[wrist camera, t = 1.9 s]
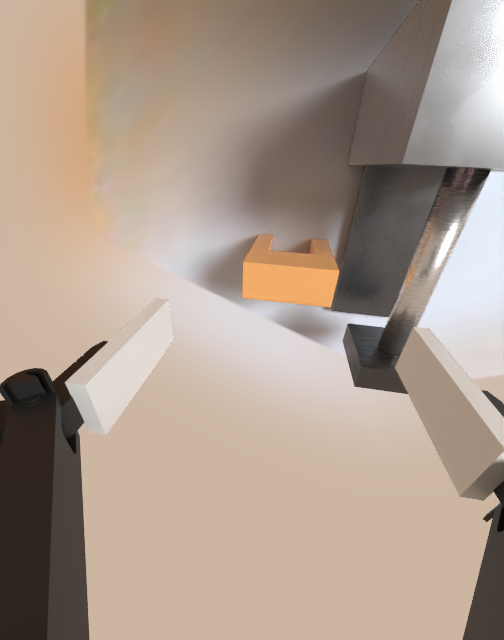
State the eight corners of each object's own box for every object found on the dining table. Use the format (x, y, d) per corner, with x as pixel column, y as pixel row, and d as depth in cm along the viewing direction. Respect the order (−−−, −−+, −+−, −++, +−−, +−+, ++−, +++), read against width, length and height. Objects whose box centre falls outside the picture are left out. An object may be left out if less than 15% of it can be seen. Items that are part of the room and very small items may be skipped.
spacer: (258, 234, 26) (243, 261, 19) (326, 239, 26) (339, 270, 18) (257, 262, 28) (242, 297, 20) (321, 267, 27) (330, 307, 20)
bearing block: (367, 71, 19) (474, -74, 7) (513, 73, 18) (896, -93, 6) (318, 305, 29) (332, 393, 18) (408, 314, 28) (482, 414, 17)
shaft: (396, 157, 16) (440, 153, 11) (495, 161, 16) (589, 159, 11) (342, 340, 24) (354, 386, 19) (407, 348, 24) (437, 398, 19)
